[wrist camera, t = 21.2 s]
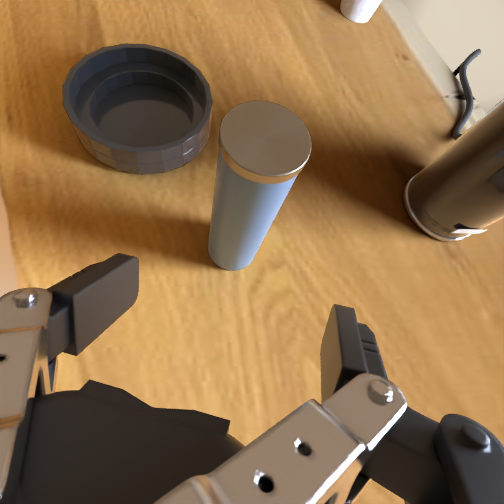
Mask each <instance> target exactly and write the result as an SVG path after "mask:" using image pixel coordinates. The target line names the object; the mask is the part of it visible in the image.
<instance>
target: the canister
mask: <svg viewBox="0 0 504 504" xmlns="http://www.w3.org/2000/svg"><path fill="white" fill-rule="evenodd" d="M311 146H312V145H311V137H310V134H309V131H308V129H307V127H306V126H305V124H304V123H303V121H302V120H301V119H300V118H299V117H298V116H297V115H296V114H295V113H293V112H292V111H290V110H289V109H287V108H285V107H283V106H281V105H279V104H276V103H272V102H268V101H248V102H244V103H241V104H239V105H237V106H235V107H233V108H232V109H231V110H230V111H229V112H228V113H227V114H226V115H225V116H224V118H223V120H222V122H221V125H220V131H219V156H218V164H217V173H216V181H215V190H214V198H213V207H212V215H211V224H210V232H209V241H208V252H209V255H210V257H211V259H212V260H213V262H214V263H215V264H216V265H218V266H219V267H221V268H223V269H226V270H240V269H242V268H245V267H246V266H248V265H249V264H250V263H251V261H252V260H253V258H254V256H255V254H256V253H257V251H258V249H259V247H260V245H261V243H262V241H263V239H264V237H265V236H266V234H267V232H268V230H269V228H270V226H271V224H272V222H273V221H274V219H275V217H276V215H277V213H278V211H279V209H280V207H281V205H282V204H283V202H284V200H285V198H286V196H287V194H288V192H289V190H290V188H291V187H292V185H293V183H294V181H295V179H296V177H297V175H298V174H299V173H300V172H301V171H302V169H303V168H304V166H305V164H306V162H307V160H308V158H309V156H310V153H311Z"/></svg>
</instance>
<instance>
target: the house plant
mask: <svg viewBox="0 0 504 504" xmlns="http://www.w3.org/2000/svg"><path fill="white" fill-rule="evenodd" d="M381 1H382V0H342V1H341V5H340V9H341V12H342V14H343V15H344V16H345V17H346V18H348V19H349V20H351V21H354V22H357V23H364V22H367V21H368V20H369V19H370V17H371V16H372V14H373V13H374V12H375V10H376V9H377V7H378V6H379V4H380V3H381Z"/></svg>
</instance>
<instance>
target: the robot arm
mask: <svg viewBox="0 0 504 504" xmlns="http://www.w3.org/2000/svg"><path fill="white" fill-rule="evenodd" d="M480 53H481V50H480V49H478V50H476V51H474V52H473V53H472V54H470V55H469V56H468V57H467V58H466V60H465V61H464V62H463V63H462V64H461V65H460V66H459V67H458V68H457V69H456V70H455V71H454V72H453V74H454V75H455V76H456V75H457V74H458V73H459V75H460V82H461V85H462V88H463V91H464V94H465V97H466V109H465V112H464V114H463V116H462V118H461V119H460V121H459V122H458V124H457V125H456V127H455V129H454V131H453V138H454V139H455V140H456V141H455V142H453V143H452V144H451V145H450V146H449V147H448V148H447V149H446V150H444V151H443V152H442V153H441V154H440V155H439V156H438V157H436V158H435V159H434V160H433V161H432V162H430V163H429V164H428V165H427V166H426V167H425V168H424V169H423V170H421V171H420V172H419V173H418V174H416V175H415V176H413V177H412V178H411V179H410V180H409V181H408V182H407V184H406V186H405V189H404V194H403V198H404V204H405V208H406V210H407V212H408V214H409V216H410V218H411V219H412V220H413V222H414V223H415V224H416V225H417V226H418V227H419V228H420V229H421V230H422V231H423V232H425V233H426V234H428V235H429V236H431V237H433V238H435V239H438V240H442V241H447V242H454V241H459V240H462V239H464V238H466V237H468V236H469V235H471V234H472V233H474V234H480V233H482V232H484V231H486V230H480V229H482V228H484V227H486V226H488V225H490V224H492V223H494V222H496V221H498V220H500V219H502V218H504V99H503V100H501V101H500V102H499V103H498V104H497V105H496V106H494V107H493V108H492V109H491V110H490V111H489V112H488V113H486V114H485V115H484V116H483V117H482V118H481V119H480V120H479V121H477V122H476V123H475V124H474V125H473V126H472V127H471V128H469V129H468V130H467V131H466V132H465V133H464V134H460V132H461V129H462V128H463V126H464V124H465V123H466V122H467V120H468V118H469V117H470V115H471V113H472V110H473V96H472V92H471V89H470V86H469V83H468V80H467V77H466V68H467V66H468V64H469V63H470V62H471V61H472V60H473V59H474V58H476V57H477V56H478V55H479V54H480ZM138 290H139V260H138V258H137V257H134V256H129V255H125V254H121V253H118V254H116V255H114V256H112V257H110V258H109V259H107V260H105V261H103V262H99V263H96V264H92V265H90V266H88V267H86V268H84V269H82V270H81V271H80V272H77V273H75V274H73V275H72V276H70V277H68V278H66V279H64V280H62V281H61V282H59V283H57V284H55V285H53V286H52V287H50V288H48V289H42V288H23V289H18V290H14V291H11V292H9V293H7V294H5V295H3V296H2V297H0V504H354V503H355V502H356V501H357V499H358V498H359V497H360V495H361V494H362V493H363V491H364V490H365V489H366V488H367V486H368V485H369V484H370V482H371V481H372V480H374V481H375V482H377V483H378V484H380V485H382V486H383V487H385V488H386V489H388V490H390V491H391V492H393V493H394V494H396V495H398V496H399V497H401V498H402V499H404V501H405V504H504V447H503V445H502V444H501V443H500V441H499V440H498V439H497V438H496V437H495V436H494V435H493V434H492V433H491V432H490V431H489V430H487V429H486V428H485V427H484V426H482V425H481V424H479V423H477V422H476V421H474V420H472V419H470V418H468V417H465V416H462V415H458V414H448V415H445V416H444V417H443V418H442V420H441V421H440V423H438V422H436V421H434V420H432V419H430V418H428V417H426V416H424V415H422V414H420V413H418V412H416V411H414V410H413V409H411V408H410V407H408V406H407V402H406V398H405V396H404V394H403V393H402V391H401V390H400V389H399V388H398V387H397V386H396V385H395V384H393V383H392V382H391V381H389V380H388V378H387V375H386V371H385V368H384V365H383V362H382V358H381V355H380V354H379V348H378V346H377V342H376V339H375V335H374V334H373V332H372V331H371V330H370V329H369V328H368V327H367V325H365V324H361V323H357V319H356V315H355V311H354V308H350V307H345V306H341V305H337V304H334V305H333V306H332V309H331V312H330V316H329V319H328V322H327V326H326V329H325V332H324V336H323V340H322V344H321V353H320V356H321V395H322V404H319V403H318V402H317V401H316V400H314V399H311V400H308V401H307V402H305V403H304V404H303V405H301V406H300V407H298V408H297V409H296V410H294V411H293V412H292V413H290V414H289V415H288V416H286V417H285V418H284V419H282V420H281V421H280V422H278V423H277V424H275V425H274V426H273V427H271V428H270V429H269V430H267V431H266V432H265V433H263V434H262V435H261V436H259V437H258V438H257V439H255V440H254V441H252V442H251V443H250V444H248V445H247V446H246V447H245V446H244V445H243V444H242V443H240V442H239V441H238V440H236V439H235V438H234V437H232V436H231V435H229V434H228V431H229V425H230V420H226V419H223V418H219V417H216V416H213V415H209V414H206V413H202V412H199V411H195V410H183V409H166V408H154V407H151V406H149V405H148V404H146V403H144V402H143V401H141V400H139V399H138V398H136V397H134V396H133V395H131V394H130V393H128V392H126V391H125V390H123V389H120V388H117V387H113V386H110V385H106V384H103V383H100V382H96V381H93V380H89V381H88V382H87V383H86V384H85V385H84V386H83V387H82V388H81V389H80V390H72V391H61V392H55V386H56V377H57V368H58V357H57V355H59V354H60V353H61V352H64V353H68V354H71V355H75V356H77V355H78V354H79V353H80V352H82V351H83V350H84V349H85V348H86V347H87V346H88V345H89V344H90V343H92V342H93V341H94V340H95V339H96V338H97V337H98V336H99V335H100V334H101V333H103V332H104V331H105V330H106V329H107V328H108V327H109V326H110V325H111V324H113V323H114V322H115V321H116V320H117V319H118V318H119V317H120V316H121V315H123V314H124V313H125V312H126V311H127V310H128V309H129V308H130V307H131V306H132V305H133V304H134V303H135V301H136V299H137V296H138Z"/></svg>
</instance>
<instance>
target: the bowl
mask: <svg viewBox="0 0 504 504" xmlns="http://www.w3.org/2000/svg"><path fill="white" fill-rule="evenodd" d="M212 105H213V100H212V95H211V91H210V86H209V84H208V82H207V81H206V79H205V78H204V76H203V75H202V73H201V72H200V70H199V69H197V68H196V67H195V66H194V65H193V64H191V63H190V62H189V61H188V60H187V59H186V58H184V57H182V56H180V55H178V54H176V53H173V52H171V51H169V50H167V49H164V48H160V47H155V46H151V45H147V44H119V45H114V46H109V47H104V48H101V49H99V50H97V51H95V52H92V53H90V54H88V55H86V56H84V57H83V58H82V59H81V60H80V61H79V62H78V63H77V64H76V65H74V66H73V67H72V68H71V69H70V71H69V73H68V75H67V77H66V80H65V82H64V84H63V106H64V108H65V110H66V112H67V114H68V116H69V118H70V120H71V122H72V124H73V126H74V128H75V130H76V132H77V135H78V137H79V139H80V141H81V143H82V145H83V146H84V147H85V148H86V149H87V150H88V151H89V152H90V153H91V154H92V155H93V156H94V157H95V158H96V159H97V160H99V161H101V162H103V163H105V164H107V165H109V166H111V167H113V168H115V169H117V170H120V171H126V172H131V173H136V174H154V173H163V172H167V171H170V170H173V169H176V168H178V167H181V166H183V165H185V164H187V163H188V162H189V161H191V160H192V159H193V158H195V157H196V156H197V155H198V154H199V153H200V152H201V150H202V149H203V147H204V146H205V144H206V143H207V141H208V139H209V133H210V128H211V119H212Z"/></svg>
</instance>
